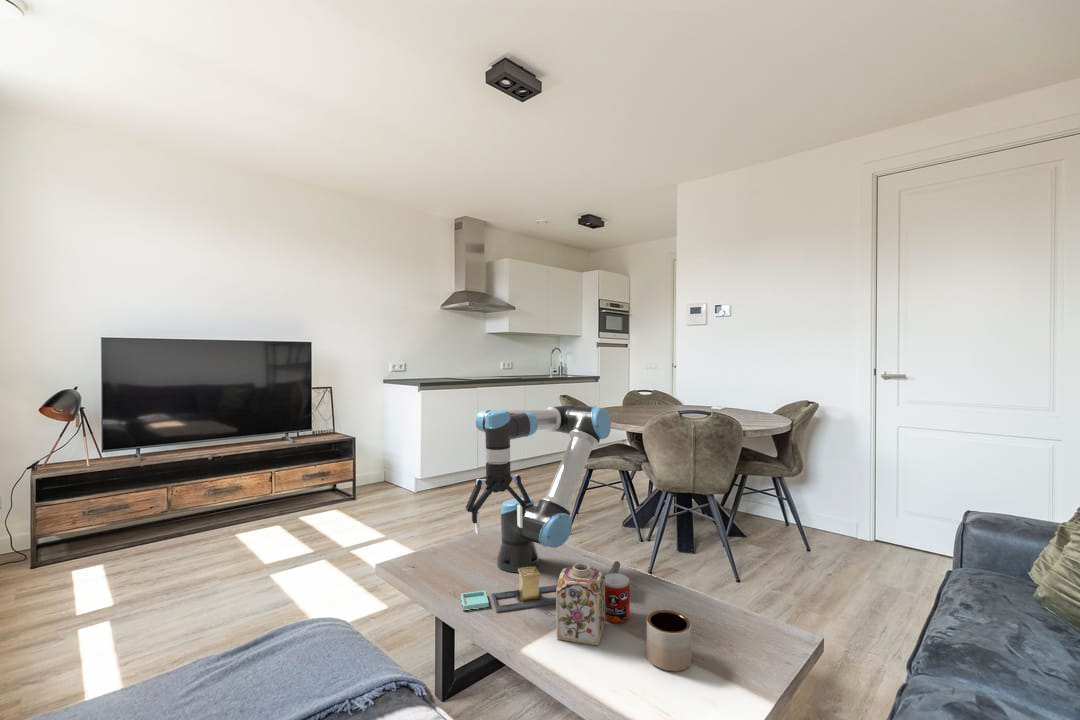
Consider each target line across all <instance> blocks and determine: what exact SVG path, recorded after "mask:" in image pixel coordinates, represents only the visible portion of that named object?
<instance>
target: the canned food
mask: <svg viewBox="0 0 1080 720" xmlns="http://www.w3.org/2000/svg"><path fill="white" fill-rule="evenodd" d="M604 577H605V622H608V623H609V624H613V625H621V624H624V623H627V621H628V620H629V619H630V578H629V577H628V576H627V575H625V574H621V573H618V574H617V573H612V574H609V573H607V574H605V575H604Z"/></svg>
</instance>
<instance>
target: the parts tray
mask: <svg viewBox="0 0 1080 720" xmlns="http://www.w3.org/2000/svg"><path fill="white" fill-rule="evenodd" d="M464 597H465V599H466V601H467V604H466V605H465V602H464ZM461 600H462V602H461V606H462V605H463V607H462V610H463V609H473V608H484V609H486V608H485V607H489V608H490V606H489V605H490V604H489V599H488V596H487V592H486V590H477V591H471V592H464V593H460V601H461Z"/></svg>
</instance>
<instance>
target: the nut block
mask: <svg viewBox="0 0 1080 720" xmlns="http://www.w3.org/2000/svg"><path fill="white" fill-rule="evenodd" d="M518 571H519V572H518V578H519V579H518V580H519V582H518V584H519V587H518V588H519V589H518V590H519V596H518V597H519V599H520V601H521V603H522V602H529V601H536V600H540V599H539V587H540V583H539V582H540V581H539V579H540V577H541V573H540V572H539V570H538V568H537V567H536V566H532V567H524V568H518Z"/></svg>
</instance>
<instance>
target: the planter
mask: <svg viewBox="0 0 1080 720" xmlns="http://www.w3.org/2000/svg"><path fill="white" fill-rule="evenodd" d="M645 645H646V649H645V651H646V657H647V659H648V661H649V662H650V663H651V664H652V665H653V666H655V667H656V668H659V669H660V670H663V671H666V672H680V671H681V672H682V671H683V670H686V669H687V668H689V667H690V665H691V663H692V653H693V652H692V624H691V620H690V619H689V618H688V617H687V616H685V615H684V614H683V613H680V612H677V611H675V610H669V609H657V610H654V611H652V612H650V613H648V615H647V616H646V643H645Z"/></svg>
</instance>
